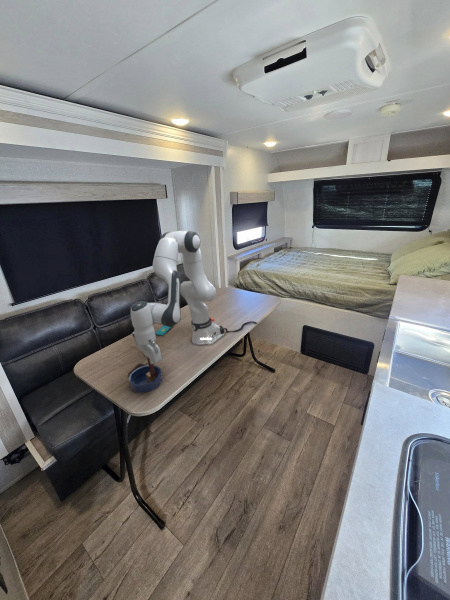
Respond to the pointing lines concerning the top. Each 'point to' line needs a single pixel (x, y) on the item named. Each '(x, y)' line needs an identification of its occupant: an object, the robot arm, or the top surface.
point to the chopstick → (151, 368)
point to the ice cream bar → (138, 367)
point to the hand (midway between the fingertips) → (150, 361)
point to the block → (150, 377)
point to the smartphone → (162, 330)
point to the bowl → (144, 379)
